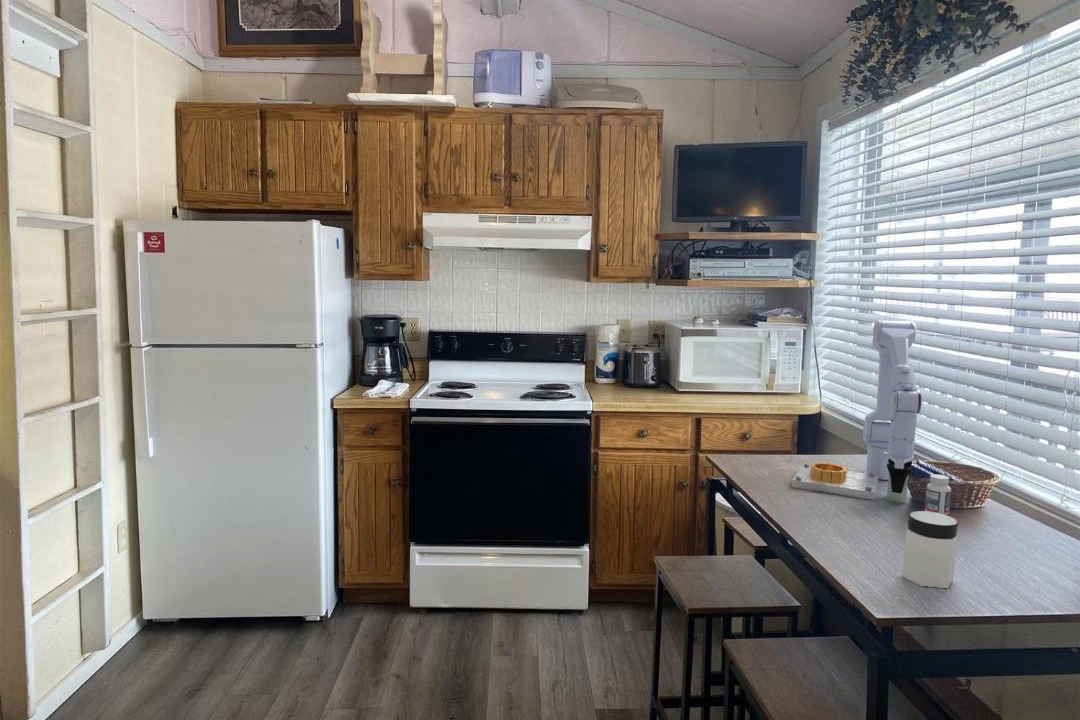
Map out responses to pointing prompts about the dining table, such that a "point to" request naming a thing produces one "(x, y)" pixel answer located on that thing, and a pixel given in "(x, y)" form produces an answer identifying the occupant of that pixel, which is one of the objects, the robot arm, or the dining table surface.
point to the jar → (930, 549)
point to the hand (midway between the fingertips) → (897, 489)
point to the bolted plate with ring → (835, 480)
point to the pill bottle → (938, 495)
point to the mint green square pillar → (897, 496)
